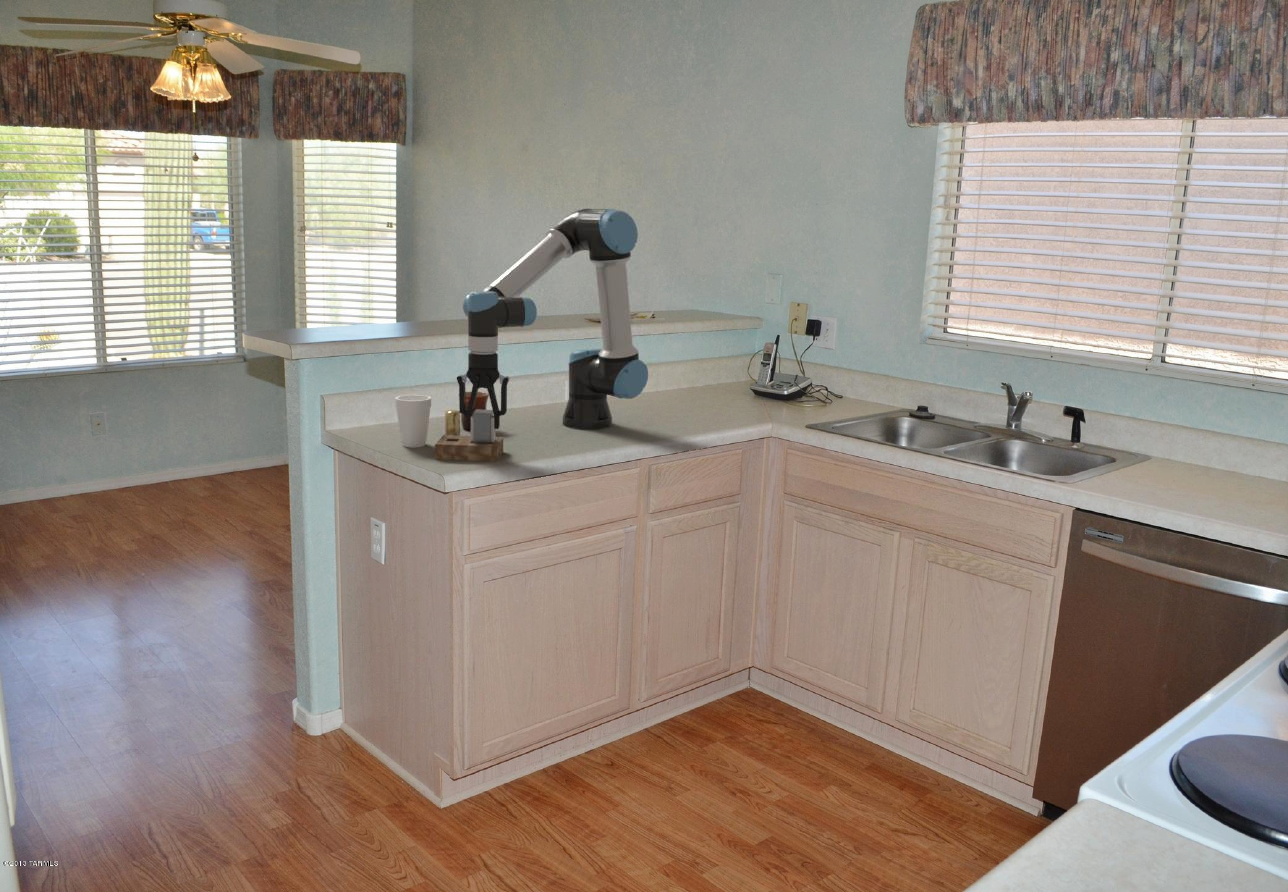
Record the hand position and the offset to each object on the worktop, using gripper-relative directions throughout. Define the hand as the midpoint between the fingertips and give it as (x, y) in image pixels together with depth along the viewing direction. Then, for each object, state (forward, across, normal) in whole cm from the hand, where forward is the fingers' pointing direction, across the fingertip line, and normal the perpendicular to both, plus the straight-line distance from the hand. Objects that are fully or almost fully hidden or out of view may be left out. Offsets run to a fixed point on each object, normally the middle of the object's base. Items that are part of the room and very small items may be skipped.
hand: (483, 440), depth 271 cm
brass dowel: (+4, +10, -13) cm, 17 cm away
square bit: (+4, 0, 0) cm, 4 cm away
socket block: (+4, +4, 0) cm, 5 cm away
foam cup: (+4, +20, -10) cm, 23 cm away
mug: (+4, +8, -32) cm, 33 cm away
